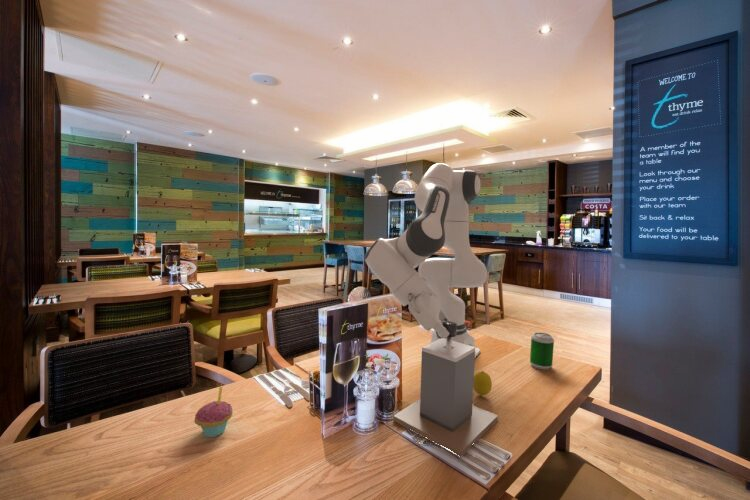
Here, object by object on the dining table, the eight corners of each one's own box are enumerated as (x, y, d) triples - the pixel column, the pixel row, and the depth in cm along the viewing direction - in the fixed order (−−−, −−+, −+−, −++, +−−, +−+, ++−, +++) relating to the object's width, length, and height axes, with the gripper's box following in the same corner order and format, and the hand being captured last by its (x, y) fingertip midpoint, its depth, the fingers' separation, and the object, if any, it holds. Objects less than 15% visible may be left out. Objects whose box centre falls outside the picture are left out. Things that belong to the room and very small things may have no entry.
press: (434, 393, 106) (437, 329, 104) (497, 420, 92) (501, 347, 90) (393, 421, 91) (395, 346, 89) (460, 457, 78) (464, 371, 76)
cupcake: (225, 417, 91) (224, 374, 90) (238, 432, 85) (237, 386, 84) (190, 431, 85) (188, 385, 84) (202, 447, 79) (200, 398, 78)
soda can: (556, 371, 123) (558, 338, 122) (535, 370, 123) (537, 338, 122) (545, 362, 131) (548, 331, 129) (526, 361, 131) (528, 331, 130)
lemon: (492, 402, 102) (493, 376, 101) (472, 399, 103) (474, 374, 102) (489, 392, 107) (491, 368, 106) (471, 390, 108) (472, 366, 107)
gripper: (416, 290, 80) (457, 335, 79) (423, 276, 100) (456, 311, 98) (396, 308, 81) (436, 352, 80) (407, 290, 101) (440, 325, 100)
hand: (447, 329), depth 89 cm, fingers open, 8 cm apart
